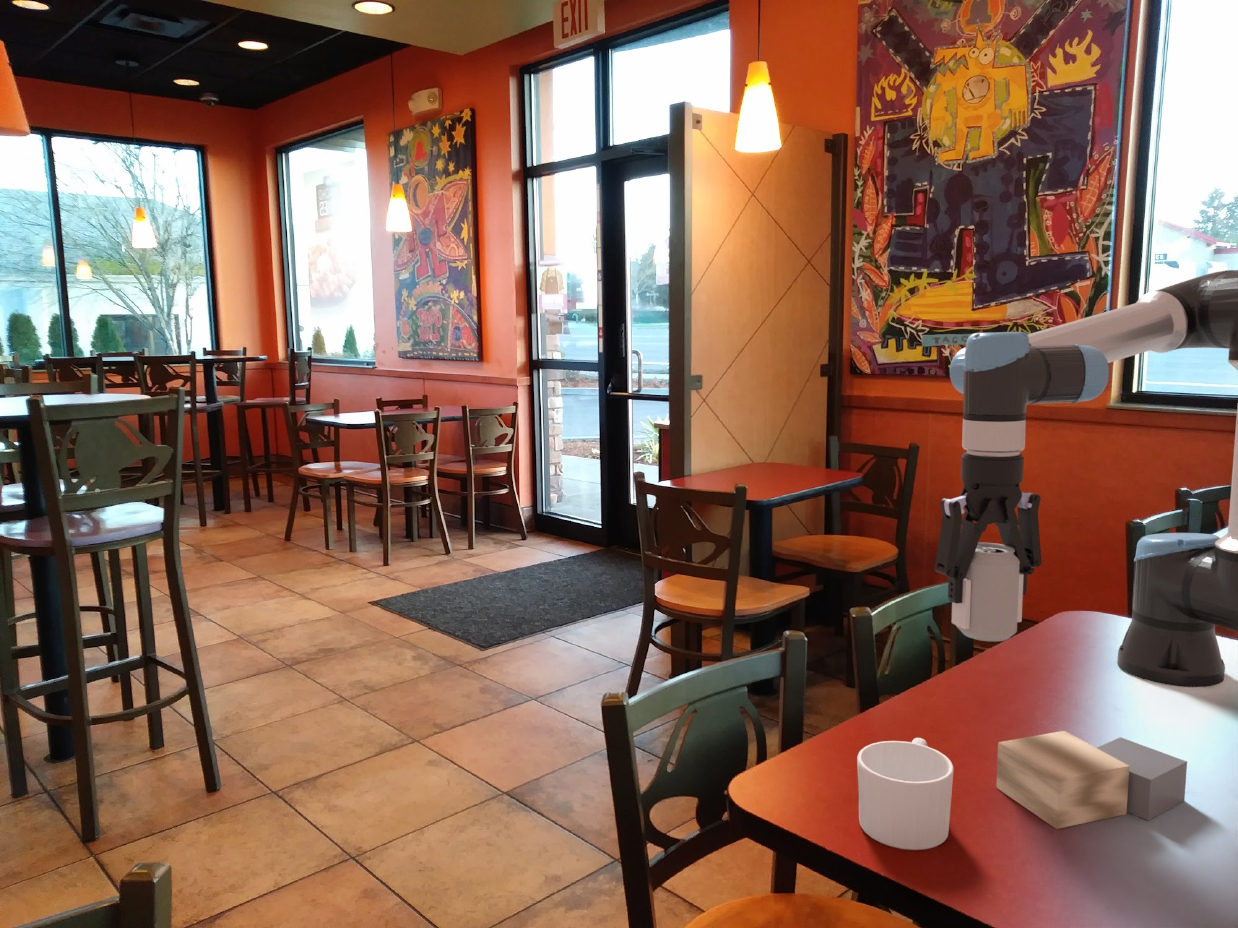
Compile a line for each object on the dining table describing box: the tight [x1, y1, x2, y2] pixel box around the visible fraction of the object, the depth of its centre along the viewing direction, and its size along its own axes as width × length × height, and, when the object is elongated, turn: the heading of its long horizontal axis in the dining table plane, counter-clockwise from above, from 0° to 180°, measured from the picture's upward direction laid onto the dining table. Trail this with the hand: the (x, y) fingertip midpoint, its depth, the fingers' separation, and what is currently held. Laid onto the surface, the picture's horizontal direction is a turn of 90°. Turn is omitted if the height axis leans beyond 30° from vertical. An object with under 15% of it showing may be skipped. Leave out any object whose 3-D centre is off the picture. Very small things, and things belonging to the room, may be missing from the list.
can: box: [955, 542, 1020, 642], centre depth 118 cm, size 8×8×12 cm
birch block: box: [995, 730, 1129, 830], centre depth 108 cm, size 10×10×6 cm
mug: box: [856, 737, 955, 851], centre depth 104 cm, size 13×10×8 cm
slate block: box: [1096, 736, 1188, 821], centre depth 108 cm, size 8×8×5 cm
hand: (986, 622), depth 119 cm, fingers closed on can, 7 cm apart
